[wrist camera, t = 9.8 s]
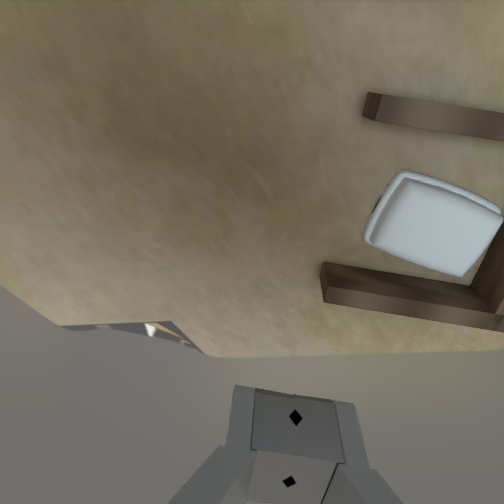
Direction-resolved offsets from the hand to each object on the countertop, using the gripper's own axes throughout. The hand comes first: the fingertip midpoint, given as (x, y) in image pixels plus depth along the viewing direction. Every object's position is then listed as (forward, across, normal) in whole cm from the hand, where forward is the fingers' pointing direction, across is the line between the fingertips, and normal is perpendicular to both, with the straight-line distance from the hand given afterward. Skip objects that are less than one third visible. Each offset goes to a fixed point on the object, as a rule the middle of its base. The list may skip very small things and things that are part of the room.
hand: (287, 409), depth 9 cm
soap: (+21, -12, +1) cm, 24 cm away
